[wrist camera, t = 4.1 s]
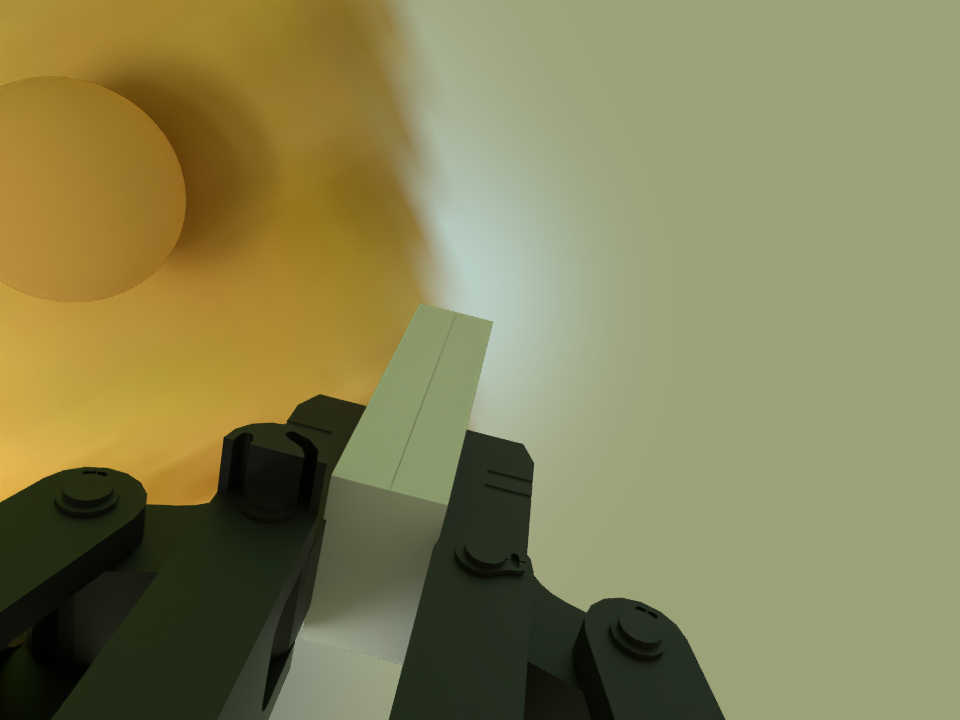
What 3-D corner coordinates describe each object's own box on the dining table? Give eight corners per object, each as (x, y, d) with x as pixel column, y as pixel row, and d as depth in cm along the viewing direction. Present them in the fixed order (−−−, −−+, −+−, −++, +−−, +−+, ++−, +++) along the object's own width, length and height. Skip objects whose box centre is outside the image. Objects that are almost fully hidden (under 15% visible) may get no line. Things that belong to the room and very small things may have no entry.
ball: (28, 45, 22) (-133, 58, 17) (228, 96, 22) (127, 124, 17) (28, 239, 24) (-113, 302, 19) (209, 285, 24) (116, 360, 19)
